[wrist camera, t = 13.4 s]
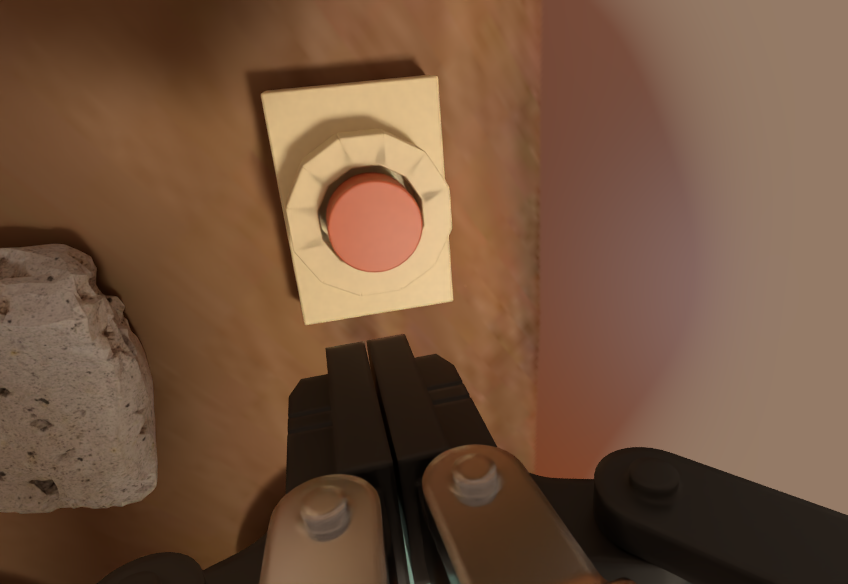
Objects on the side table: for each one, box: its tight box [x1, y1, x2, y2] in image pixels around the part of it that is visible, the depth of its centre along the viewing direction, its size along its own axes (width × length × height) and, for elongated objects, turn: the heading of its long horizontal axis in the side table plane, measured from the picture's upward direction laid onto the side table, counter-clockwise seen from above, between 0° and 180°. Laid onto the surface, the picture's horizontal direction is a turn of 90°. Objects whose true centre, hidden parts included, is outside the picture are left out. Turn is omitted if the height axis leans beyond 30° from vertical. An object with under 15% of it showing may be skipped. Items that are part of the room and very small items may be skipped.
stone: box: [0, 244, 158, 514], centre depth 23 cm, size 13×6×10 cm
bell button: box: [326, 172, 423, 273], centre depth 21 cm, size 4×4×2 cm
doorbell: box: [261, 75, 453, 325], centre depth 23 cm, size 10×7×4 cm
